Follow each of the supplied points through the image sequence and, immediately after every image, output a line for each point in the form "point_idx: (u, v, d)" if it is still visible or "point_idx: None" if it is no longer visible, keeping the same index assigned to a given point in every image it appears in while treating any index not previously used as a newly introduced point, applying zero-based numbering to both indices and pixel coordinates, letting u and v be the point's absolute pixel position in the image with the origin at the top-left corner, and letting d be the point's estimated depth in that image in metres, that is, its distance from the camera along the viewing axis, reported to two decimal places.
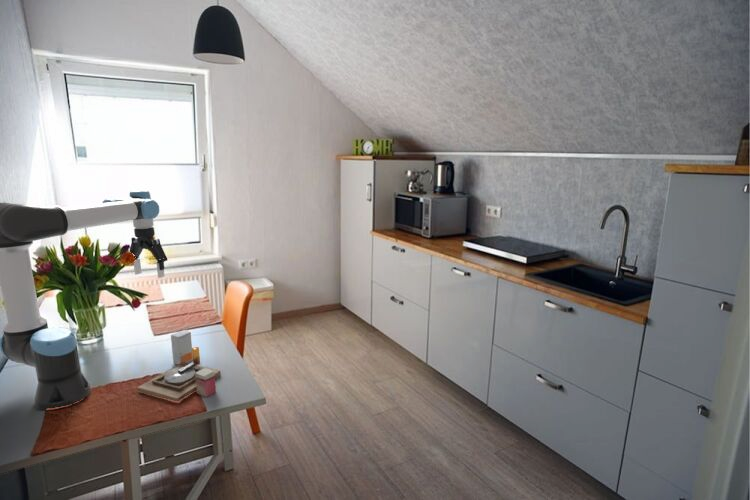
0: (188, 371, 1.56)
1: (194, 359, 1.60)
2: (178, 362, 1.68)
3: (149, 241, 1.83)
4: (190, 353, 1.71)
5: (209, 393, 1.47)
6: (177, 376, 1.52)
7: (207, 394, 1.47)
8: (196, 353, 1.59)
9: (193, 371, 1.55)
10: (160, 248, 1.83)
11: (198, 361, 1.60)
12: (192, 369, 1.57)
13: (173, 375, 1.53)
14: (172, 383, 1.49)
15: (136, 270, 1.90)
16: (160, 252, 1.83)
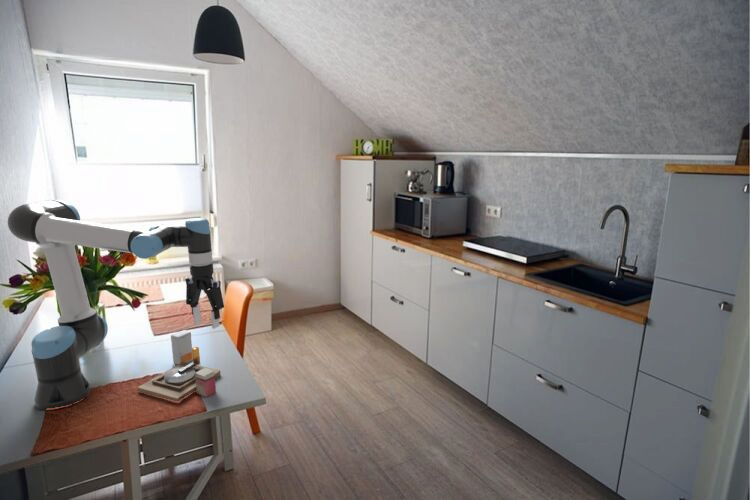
0: (188, 371, 1.56)
1: (194, 359, 1.60)
2: (178, 362, 1.68)
3: (208, 281, 1.49)
4: (190, 353, 1.71)
5: (209, 393, 1.47)
6: (177, 376, 1.52)
7: (207, 394, 1.47)
8: (196, 353, 1.59)
9: (193, 371, 1.55)
10: (219, 293, 1.50)
11: (198, 361, 1.60)
12: (192, 369, 1.57)
13: (173, 375, 1.53)
14: (172, 383, 1.49)
15: (196, 320, 1.55)
16: (218, 298, 1.50)
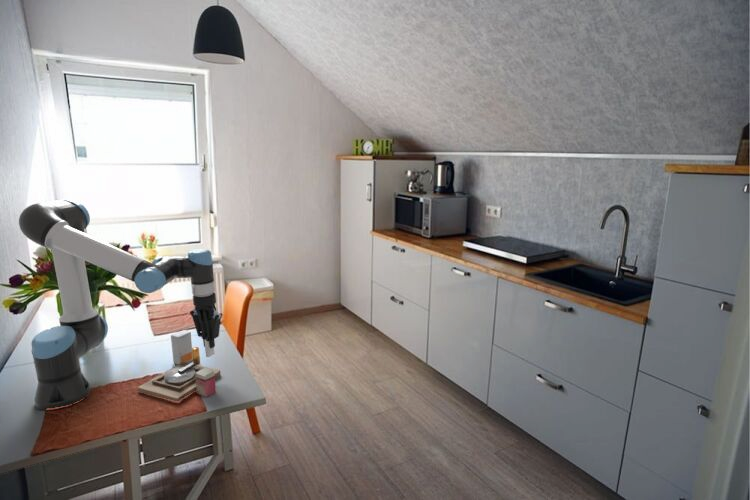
0: (188, 371, 1.56)
1: (194, 359, 1.60)
2: (178, 362, 1.68)
3: (211, 311, 1.52)
4: (190, 353, 1.71)
5: (209, 393, 1.47)
6: (177, 376, 1.52)
7: (207, 394, 1.47)
8: (196, 353, 1.59)
9: (193, 371, 1.55)
10: (218, 324, 1.53)
11: (198, 361, 1.60)
12: (192, 369, 1.57)
13: (173, 375, 1.53)
14: (172, 383, 1.49)
15: None
16: (216, 329, 1.53)
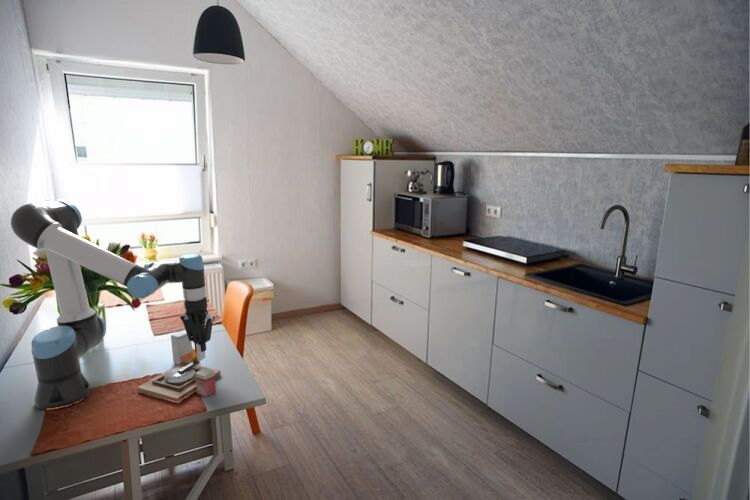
0: (188, 371, 1.56)
1: (194, 359, 1.60)
2: (178, 362, 1.68)
3: (203, 315, 1.54)
4: (190, 353, 1.71)
5: (209, 393, 1.47)
6: (177, 376, 1.52)
7: (207, 394, 1.47)
8: (196, 353, 1.59)
9: (193, 371, 1.55)
10: (210, 327, 1.56)
11: (198, 361, 1.60)
12: (192, 369, 1.57)
13: (173, 375, 1.53)
14: (172, 383, 1.49)
15: None
16: (208, 332, 1.55)
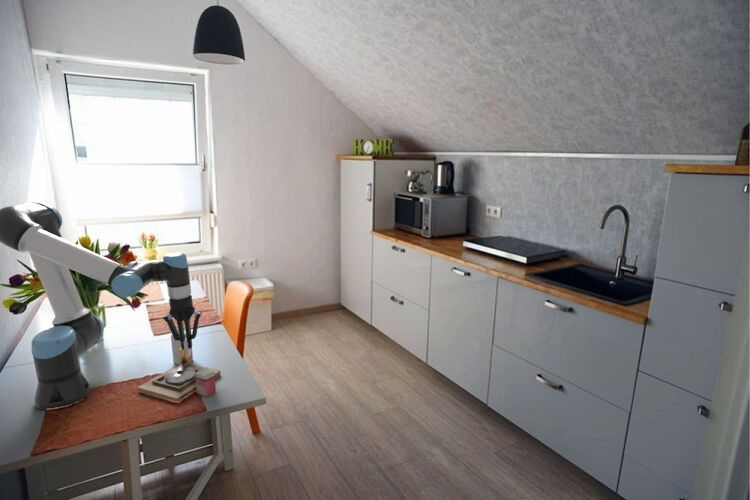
0: (185, 369, 1.57)
1: (184, 358, 1.60)
2: (178, 362, 1.68)
3: (191, 311, 1.56)
4: None
5: (209, 393, 1.47)
6: (181, 375, 1.52)
7: (207, 394, 1.47)
8: None
9: (191, 368, 1.57)
10: None
11: (187, 360, 1.61)
12: (187, 367, 1.58)
13: (175, 376, 1.52)
14: (181, 382, 1.50)
15: None
16: (196, 328, 1.59)
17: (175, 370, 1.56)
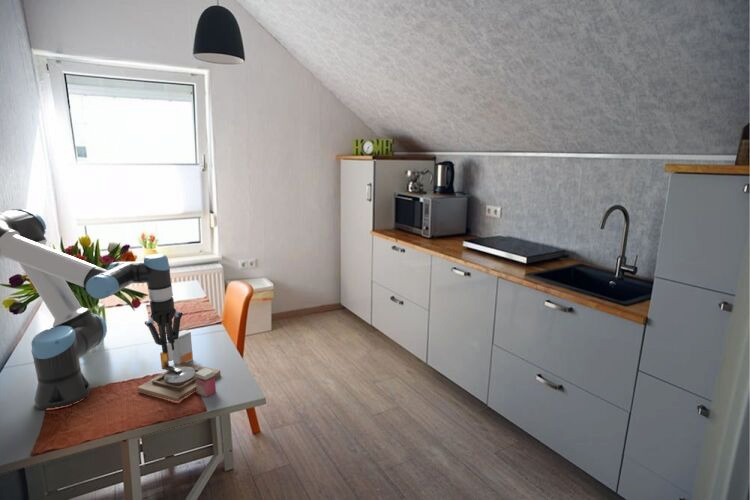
0: None
1: (167, 362, 1.57)
2: (178, 362, 1.68)
3: (174, 312, 1.56)
4: (190, 353, 1.71)
5: (209, 393, 1.47)
6: (185, 373, 1.54)
7: (207, 394, 1.47)
8: (167, 355, 1.57)
9: (182, 367, 1.58)
10: None
11: None
12: (177, 368, 1.58)
13: (180, 376, 1.52)
14: (192, 377, 1.53)
15: None
16: None
17: (170, 374, 1.54)
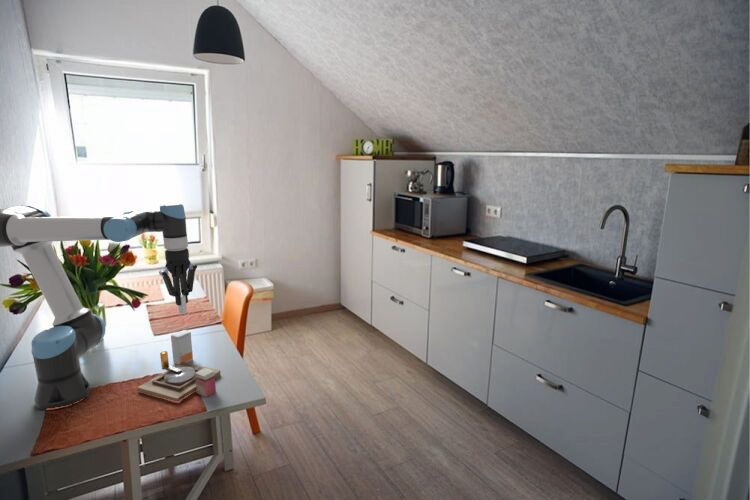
0: None
1: (167, 362, 1.57)
2: (178, 362, 1.68)
3: (189, 263, 1.54)
4: (190, 353, 1.71)
5: (209, 393, 1.47)
6: (185, 373, 1.54)
7: (207, 394, 1.47)
8: (167, 355, 1.57)
9: (182, 367, 1.58)
10: None
11: None
12: (177, 368, 1.58)
13: (180, 376, 1.52)
14: (192, 377, 1.53)
15: None
16: None
17: (170, 374, 1.54)
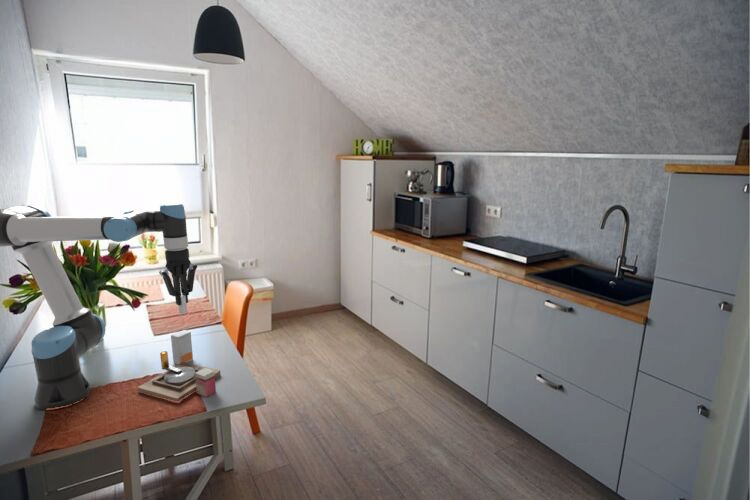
0: None
1: (167, 362, 1.57)
2: (178, 362, 1.68)
3: (189, 263, 1.54)
4: (190, 353, 1.71)
5: (209, 393, 1.47)
6: (185, 373, 1.54)
7: (207, 394, 1.47)
8: (167, 355, 1.57)
9: (182, 367, 1.58)
10: None
11: None
12: (177, 368, 1.58)
13: (180, 376, 1.52)
14: (192, 377, 1.53)
15: None
16: None
17: (170, 374, 1.54)
